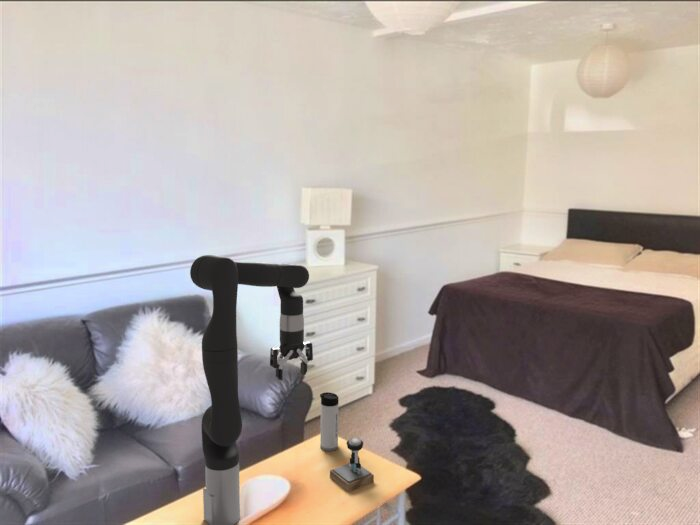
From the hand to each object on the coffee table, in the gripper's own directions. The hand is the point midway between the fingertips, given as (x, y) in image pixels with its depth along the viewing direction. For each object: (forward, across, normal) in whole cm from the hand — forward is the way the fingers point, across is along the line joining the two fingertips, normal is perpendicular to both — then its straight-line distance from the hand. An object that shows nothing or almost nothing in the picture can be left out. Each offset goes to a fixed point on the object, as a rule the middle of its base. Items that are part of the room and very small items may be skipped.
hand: (291, 376), depth 178 cm
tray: (+33, +14, -14) cm, 39 cm away
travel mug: (+33, +20, +8) cm, 40 cm away
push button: (+30, +15, -14) cm, 37 cm away
